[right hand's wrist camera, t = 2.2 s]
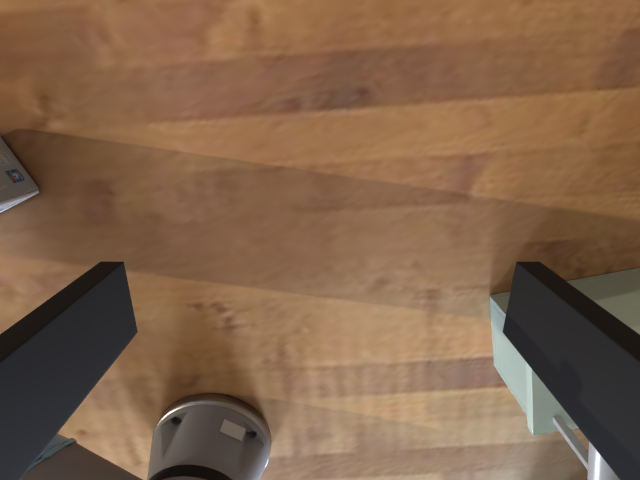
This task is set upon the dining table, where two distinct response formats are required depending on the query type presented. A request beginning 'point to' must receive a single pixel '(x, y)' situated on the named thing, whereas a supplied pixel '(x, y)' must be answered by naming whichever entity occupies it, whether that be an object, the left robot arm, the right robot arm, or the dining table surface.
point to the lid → (561, 424)
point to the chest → (606, 290)
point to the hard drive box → (13, 180)
